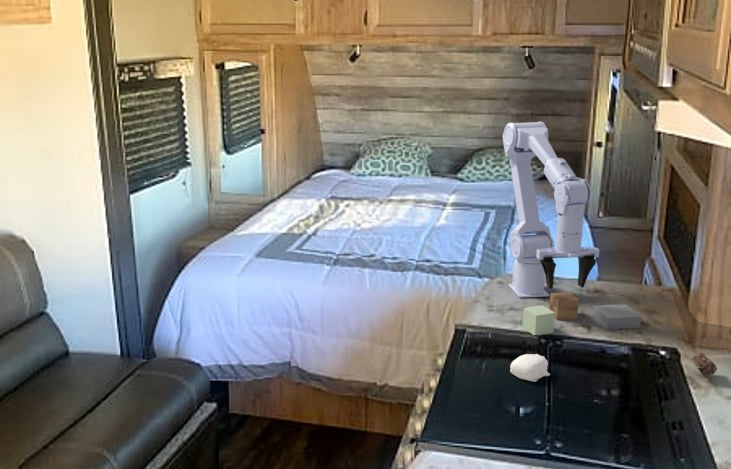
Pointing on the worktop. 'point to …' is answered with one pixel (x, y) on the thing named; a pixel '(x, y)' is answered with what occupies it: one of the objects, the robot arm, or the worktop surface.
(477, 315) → the worktop surface
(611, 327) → the slate tile
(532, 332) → the sage cube
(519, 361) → the white frog figurine
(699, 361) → the rock
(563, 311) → the walnut cube
